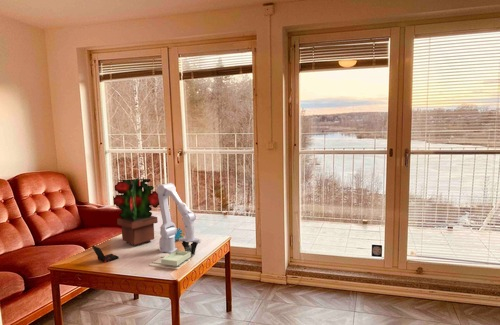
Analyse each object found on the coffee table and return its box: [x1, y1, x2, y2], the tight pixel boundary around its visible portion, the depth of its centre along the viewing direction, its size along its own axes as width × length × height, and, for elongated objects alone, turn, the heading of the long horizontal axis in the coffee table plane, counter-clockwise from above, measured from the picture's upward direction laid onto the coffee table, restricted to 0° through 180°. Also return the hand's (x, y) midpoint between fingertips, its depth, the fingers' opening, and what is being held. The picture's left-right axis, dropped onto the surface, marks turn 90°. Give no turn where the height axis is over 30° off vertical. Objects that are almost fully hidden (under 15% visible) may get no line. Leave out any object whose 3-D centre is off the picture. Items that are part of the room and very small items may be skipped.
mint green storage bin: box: [161, 249, 192, 266], centre depth 195 cm, size 10×15×4 cm
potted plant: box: [112, 177, 160, 247], centre depth 234 cm, size 22×22×45 cm
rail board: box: [149, 255, 191, 270], centre depth 197 cm, size 19×14×1 cm
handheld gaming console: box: [91, 245, 120, 264], centre depth 203 cm, size 9×12×10 cm
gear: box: [175, 227, 184, 242], centre depth 241 cm, size 11×6×10 cm
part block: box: [186, 244, 196, 258], centre depth 208 cm, size 4×4×6 cm
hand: (190, 253), depth 208 cm, fingers closed on part block, 4 cm apart
